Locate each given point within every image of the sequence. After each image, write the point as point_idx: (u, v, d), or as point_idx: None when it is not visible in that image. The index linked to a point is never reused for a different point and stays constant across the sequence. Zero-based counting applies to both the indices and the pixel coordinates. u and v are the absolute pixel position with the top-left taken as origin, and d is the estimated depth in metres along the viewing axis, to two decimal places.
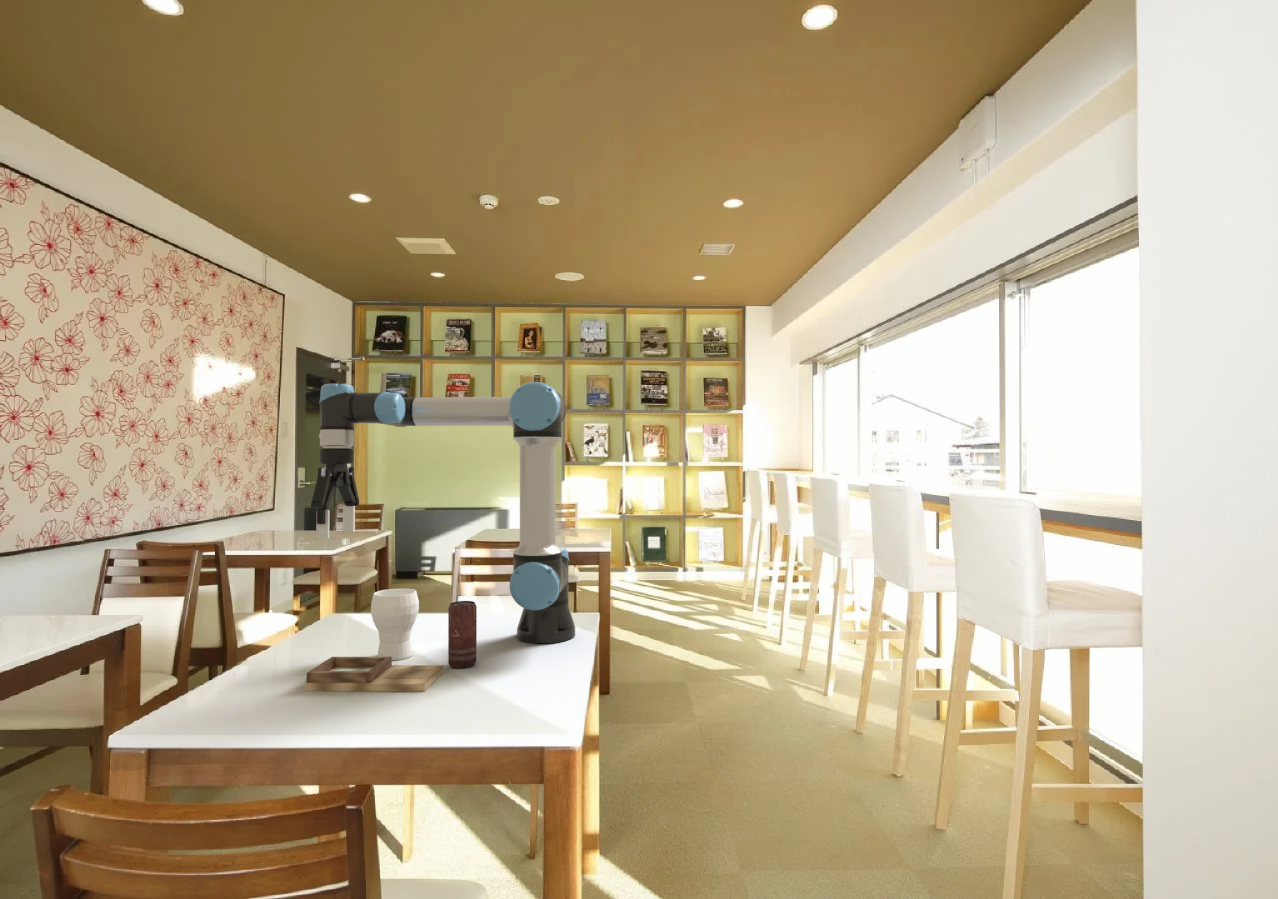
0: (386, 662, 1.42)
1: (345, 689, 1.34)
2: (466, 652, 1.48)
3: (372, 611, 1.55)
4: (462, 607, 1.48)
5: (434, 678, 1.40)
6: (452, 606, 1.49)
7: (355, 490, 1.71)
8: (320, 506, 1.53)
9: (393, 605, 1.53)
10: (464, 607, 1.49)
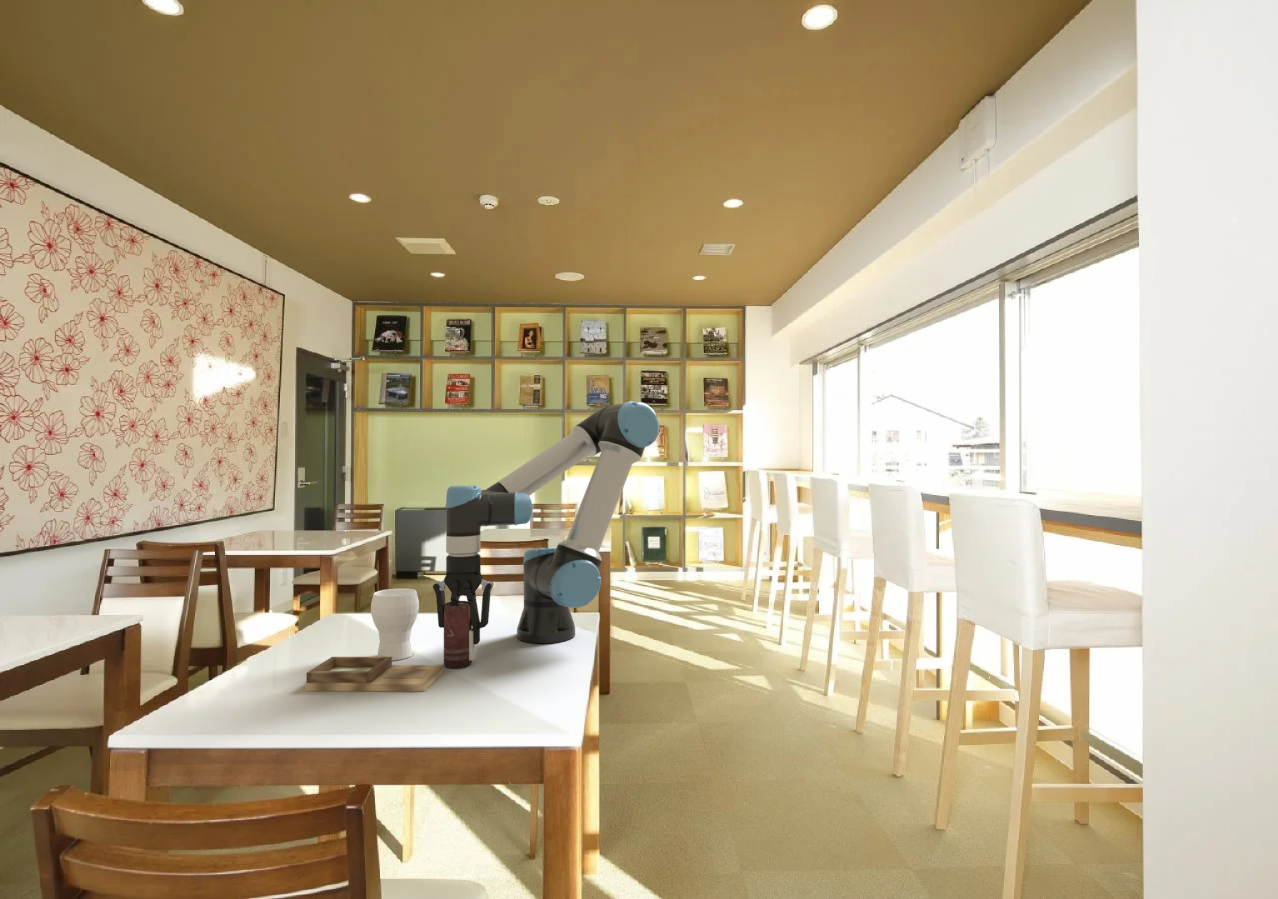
0: (386, 662, 1.42)
1: (345, 689, 1.34)
2: (461, 652, 1.48)
3: (372, 611, 1.55)
4: (457, 607, 1.48)
5: (434, 678, 1.40)
6: (447, 606, 1.49)
7: (483, 611, 1.50)
8: None
9: (393, 605, 1.53)
10: (459, 607, 1.49)
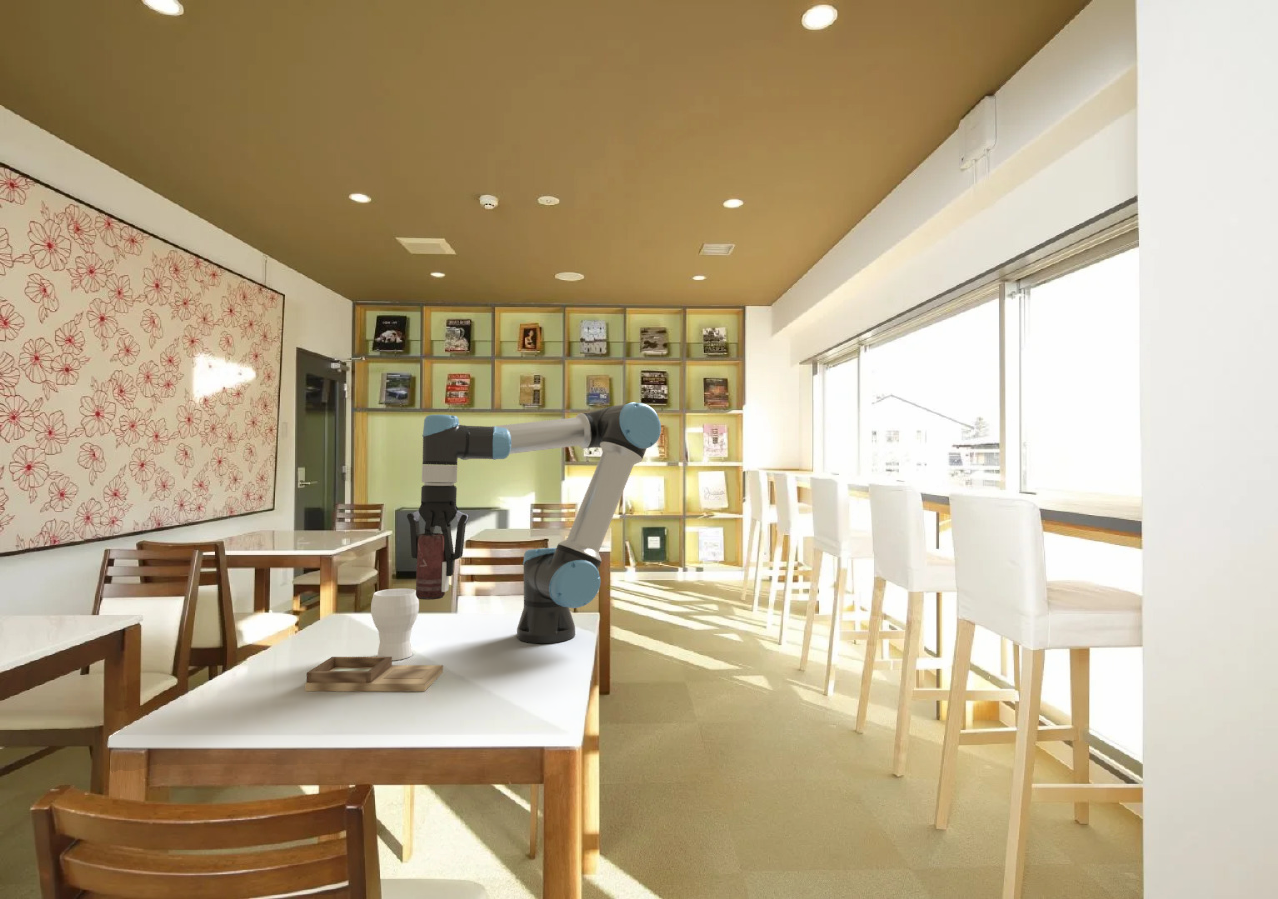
0: (386, 662, 1.42)
1: (345, 689, 1.34)
2: (433, 582, 1.46)
3: (372, 611, 1.55)
4: (431, 537, 1.46)
5: (434, 678, 1.40)
6: (421, 536, 1.47)
7: (457, 542, 1.47)
8: None
9: (393, 605, 1.53)
10: (433, 537, 1.46)
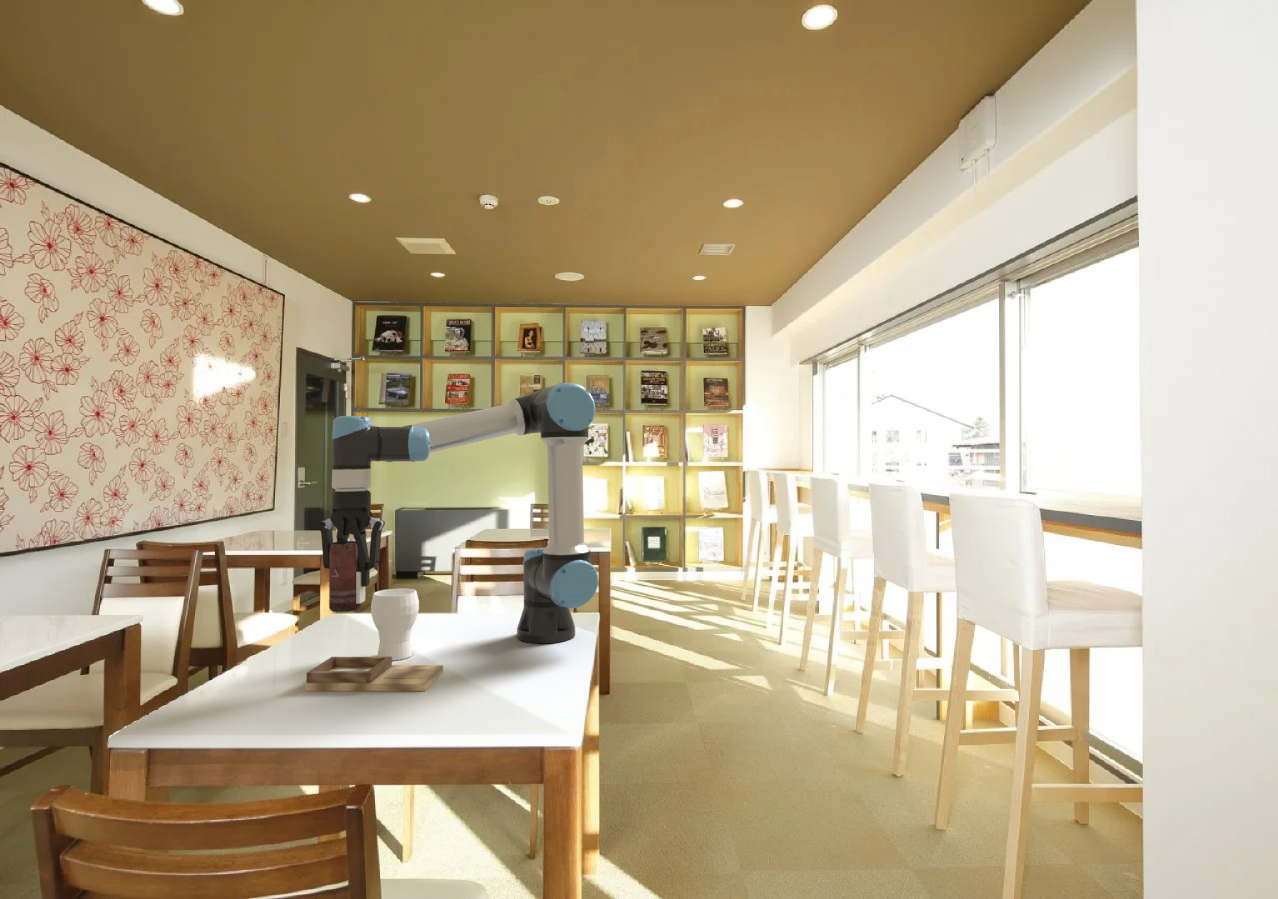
0: (386, 662, 1.42)
1: (345, 689, 1.34)
2: (346, 594, 1.38)
3: (372, 611, 1.55)
4: (342, 545, 1.38)
5: (434, 678, 1.40)
6: (332, 545, 1.39)
7: (371, 550, 1.39)
8: None
9: (393, 605, 1.53)
10: (344, 546, 1.38)
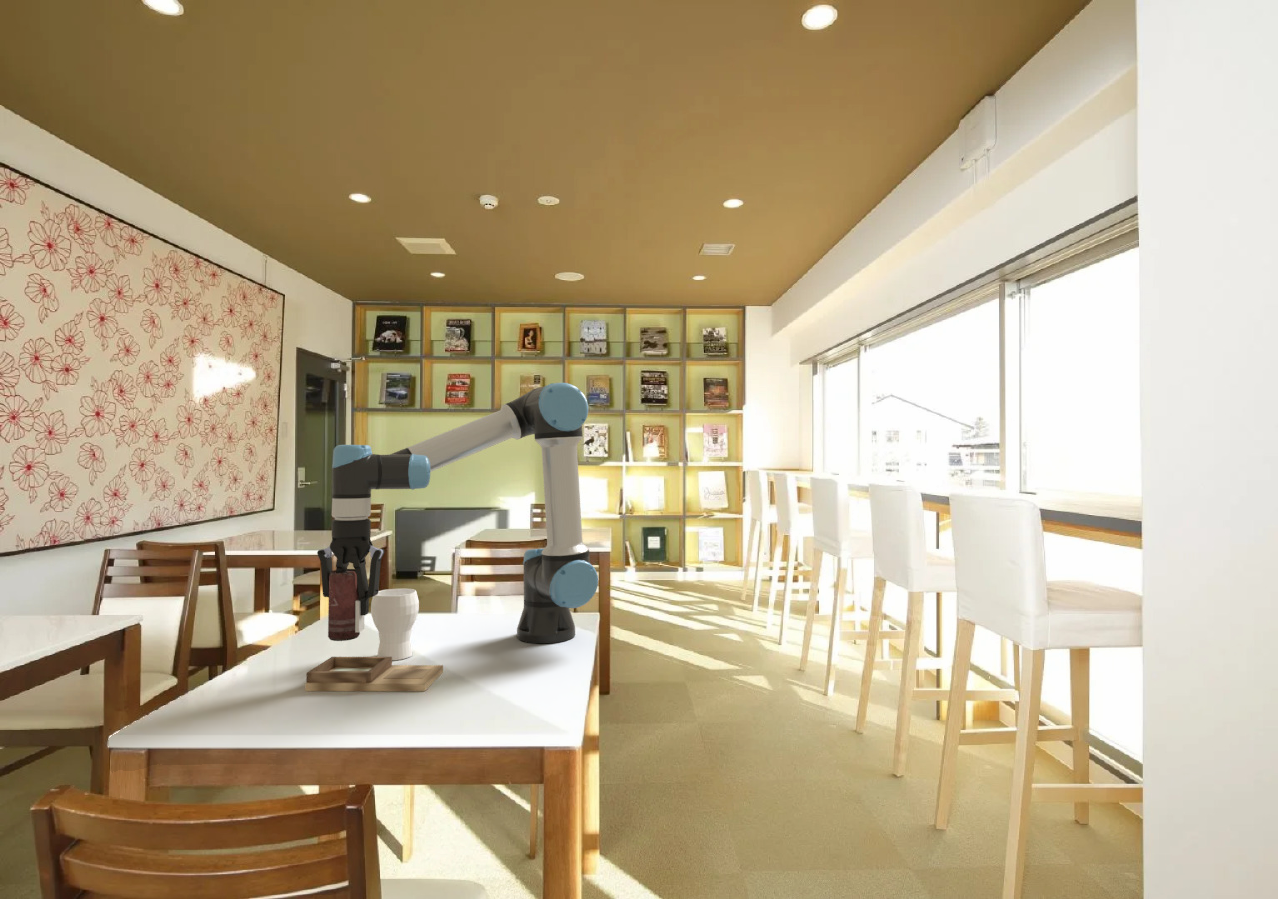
0: (386, 662, 1.42)
1: (345, 689, 1.34)
2: (345, 623, 1.38)
3: (372, 611, 1.55)
4: (342, 574, 1.38)
5: (434, 678, 1.40)
6: (332, 573, 1.38)
7: (371, 579, 1.39)
8: None
9: (393, 605, 1.53)
10: (344, 574, 1.38)
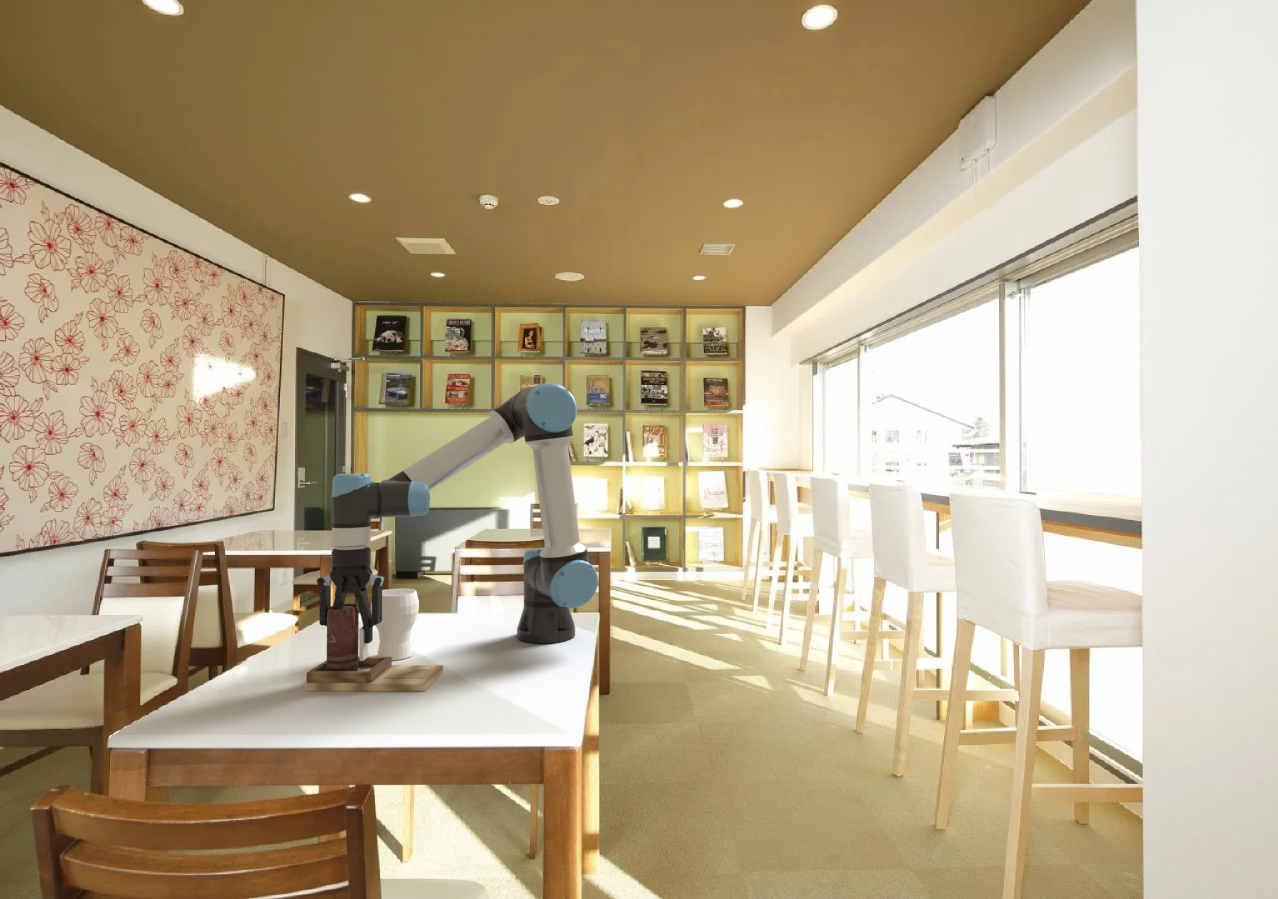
0: (386, 662, 1.42)
1: (345, 689, 1.34)
2: (343, 659, 1.38)
3: None
4: (339, 611, 1.38)
5: (434, 678, 1.40)
6: (330, 610, 1.38)
7: (373, 607, 1.39)
8: None
9: (393, 605, 1.53)
10: (342, 611, 1.38)
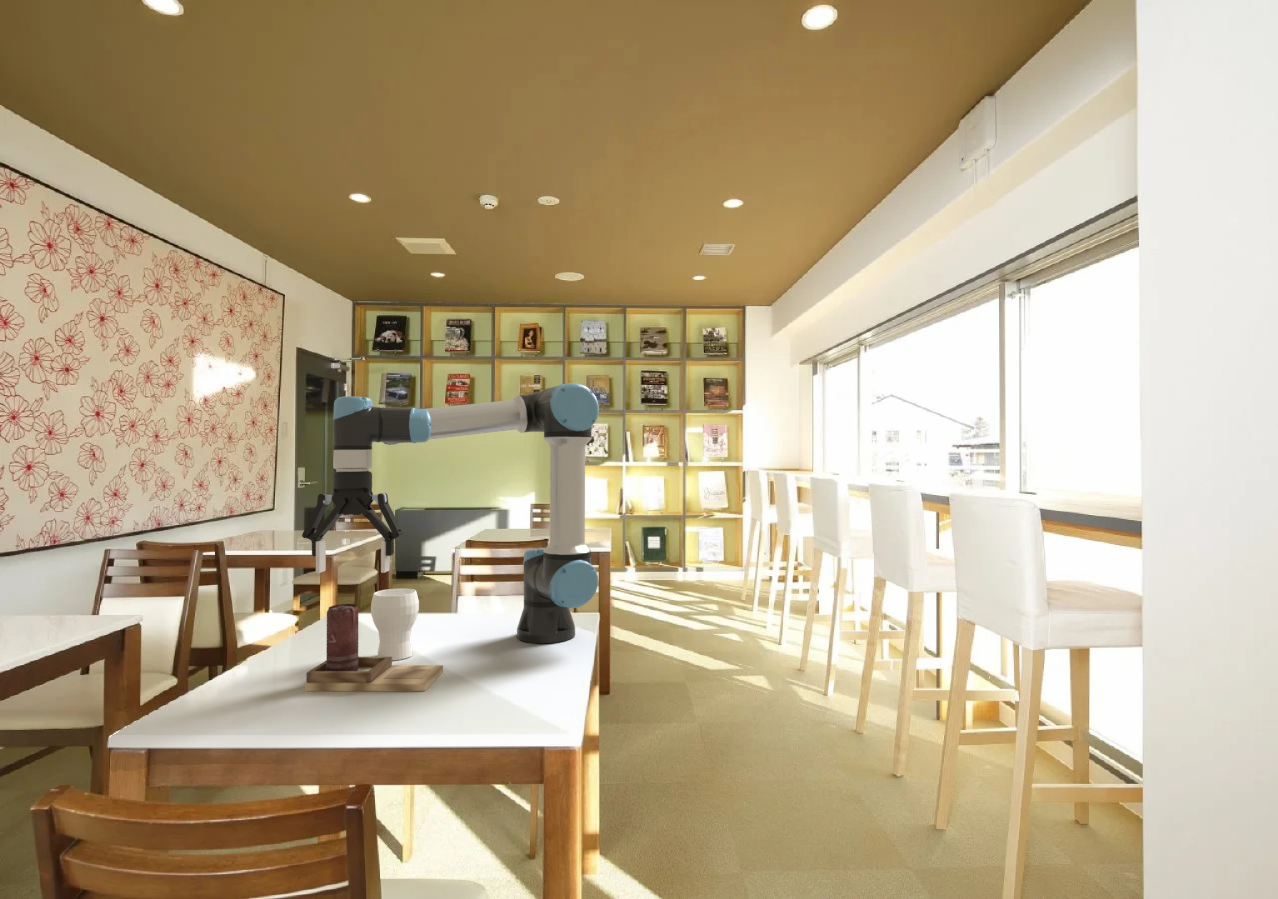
0: (386, 662, 1.42)
1: (345, 689, 1.34)
2: (343, 659, 1.38)
3: (372, 611, 1.55)
4: (339, 611, 1.38)
5: (434, 678, 1.40)
6: (329, 610, 1.38)
7: (388, 522, 1.40)
8: None
9: (393, 605, 1.53)
10: (341, 611, 1.38)
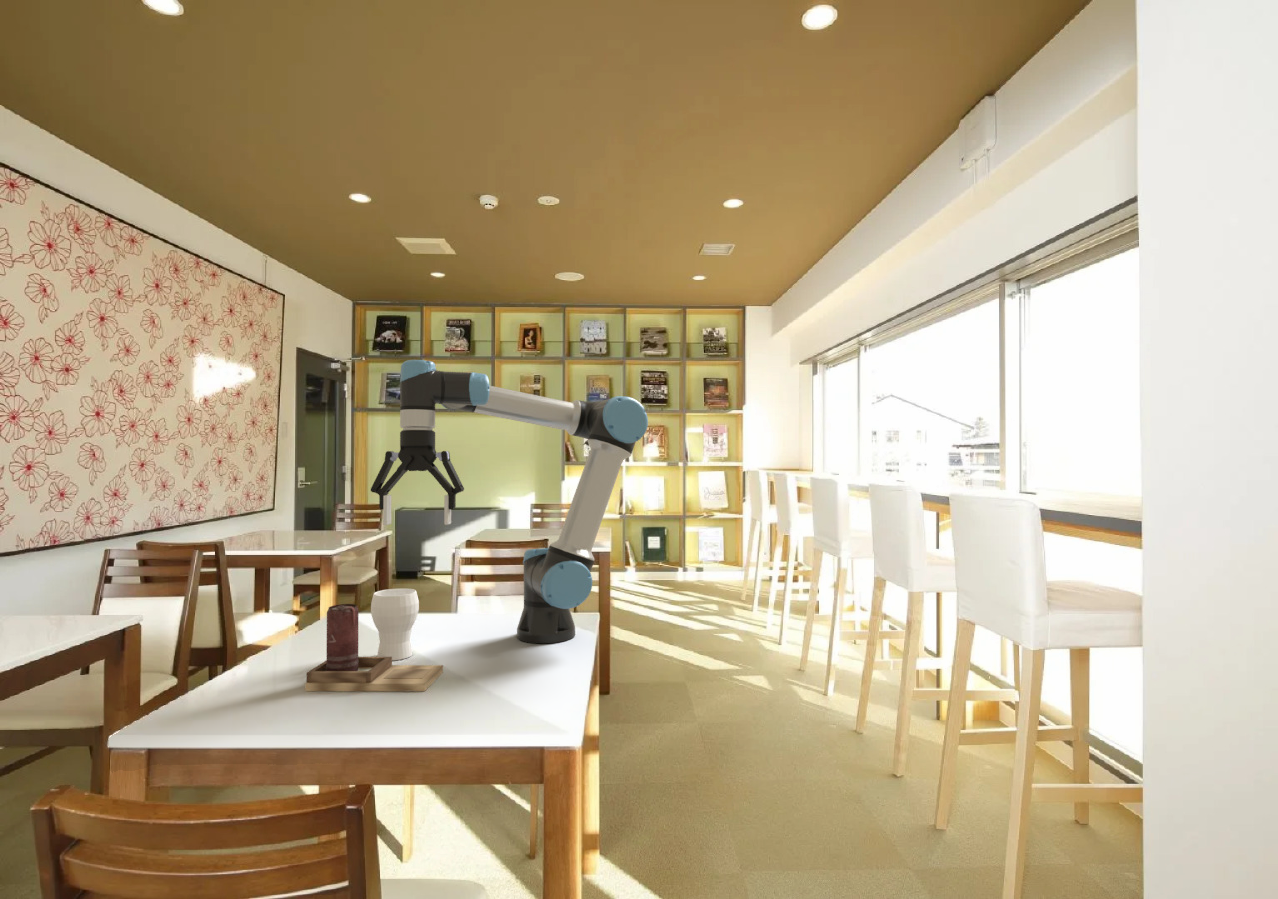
0: (386, 662, 1.42)
1: (345, 689, 1.34)
2: (343, 659, 1.38)
3: (372, 611, 1.55)
4: (339, 611, 1.38)
5: (434, 678, 1.40)
6: (329, 610, 1.38)
7: (451, 477, 1.49)
8: None
9: (393, 605, 1.53)
10: (341, 611, 1.38)
